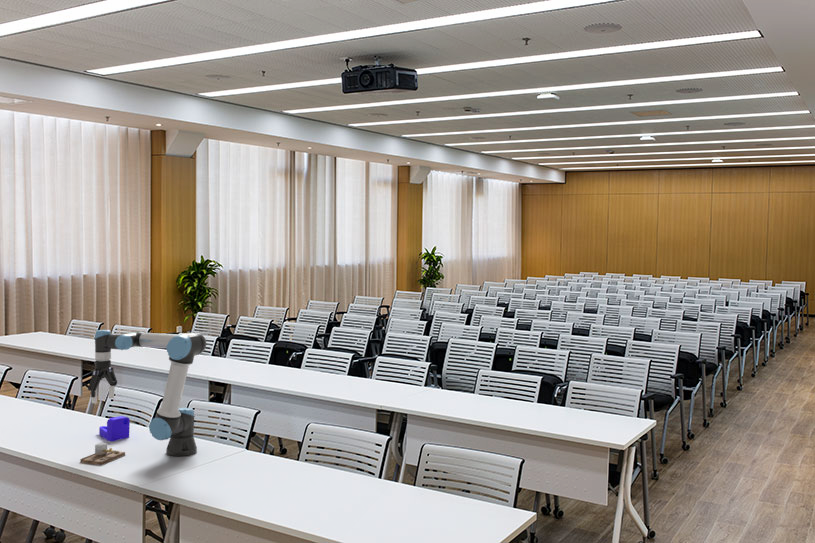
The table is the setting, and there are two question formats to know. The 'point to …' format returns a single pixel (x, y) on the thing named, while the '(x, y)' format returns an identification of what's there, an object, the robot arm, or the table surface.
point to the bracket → (115, 429)
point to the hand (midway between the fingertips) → (103, 400)
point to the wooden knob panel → (102, 458)
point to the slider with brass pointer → (102, 449)
